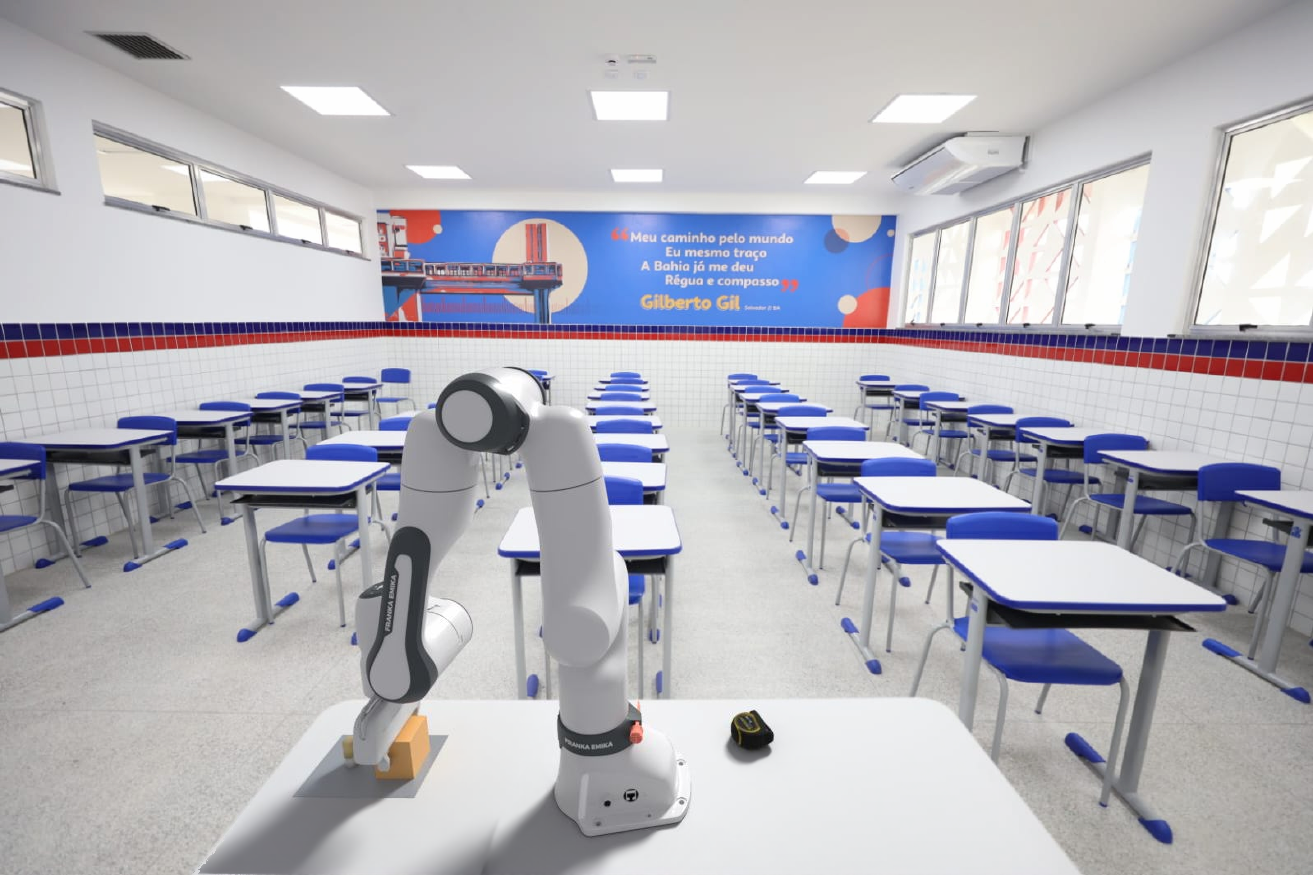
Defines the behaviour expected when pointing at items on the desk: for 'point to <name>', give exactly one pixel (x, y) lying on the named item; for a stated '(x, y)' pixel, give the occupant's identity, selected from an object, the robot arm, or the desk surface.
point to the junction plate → (362, 775)
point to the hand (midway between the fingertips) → (399, 746)
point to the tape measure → (751, 730)
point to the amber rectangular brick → (408, 750)
